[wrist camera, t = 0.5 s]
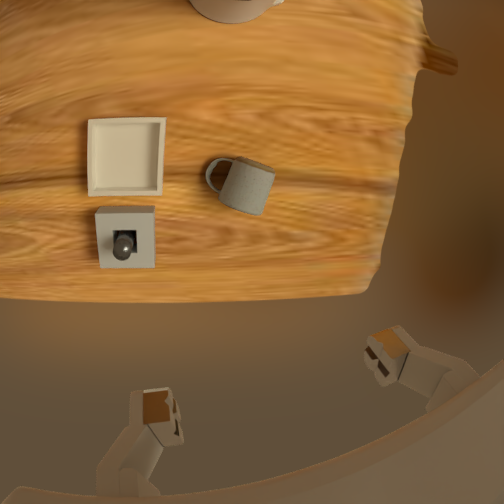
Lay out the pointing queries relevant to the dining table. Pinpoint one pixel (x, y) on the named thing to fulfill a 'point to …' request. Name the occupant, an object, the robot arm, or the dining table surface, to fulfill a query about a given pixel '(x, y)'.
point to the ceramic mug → (244, 185)
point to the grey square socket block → (126, 219)
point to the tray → (126, 156)
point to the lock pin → (124, 244)
